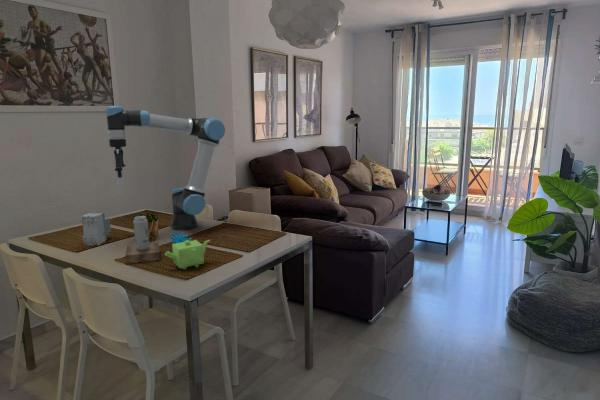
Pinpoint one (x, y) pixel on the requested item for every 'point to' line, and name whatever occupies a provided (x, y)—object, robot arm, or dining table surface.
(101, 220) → the circuit breaker
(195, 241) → the kettle
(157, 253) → the stand
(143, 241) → the energy drink can
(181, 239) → the gear
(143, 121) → the robot arm
